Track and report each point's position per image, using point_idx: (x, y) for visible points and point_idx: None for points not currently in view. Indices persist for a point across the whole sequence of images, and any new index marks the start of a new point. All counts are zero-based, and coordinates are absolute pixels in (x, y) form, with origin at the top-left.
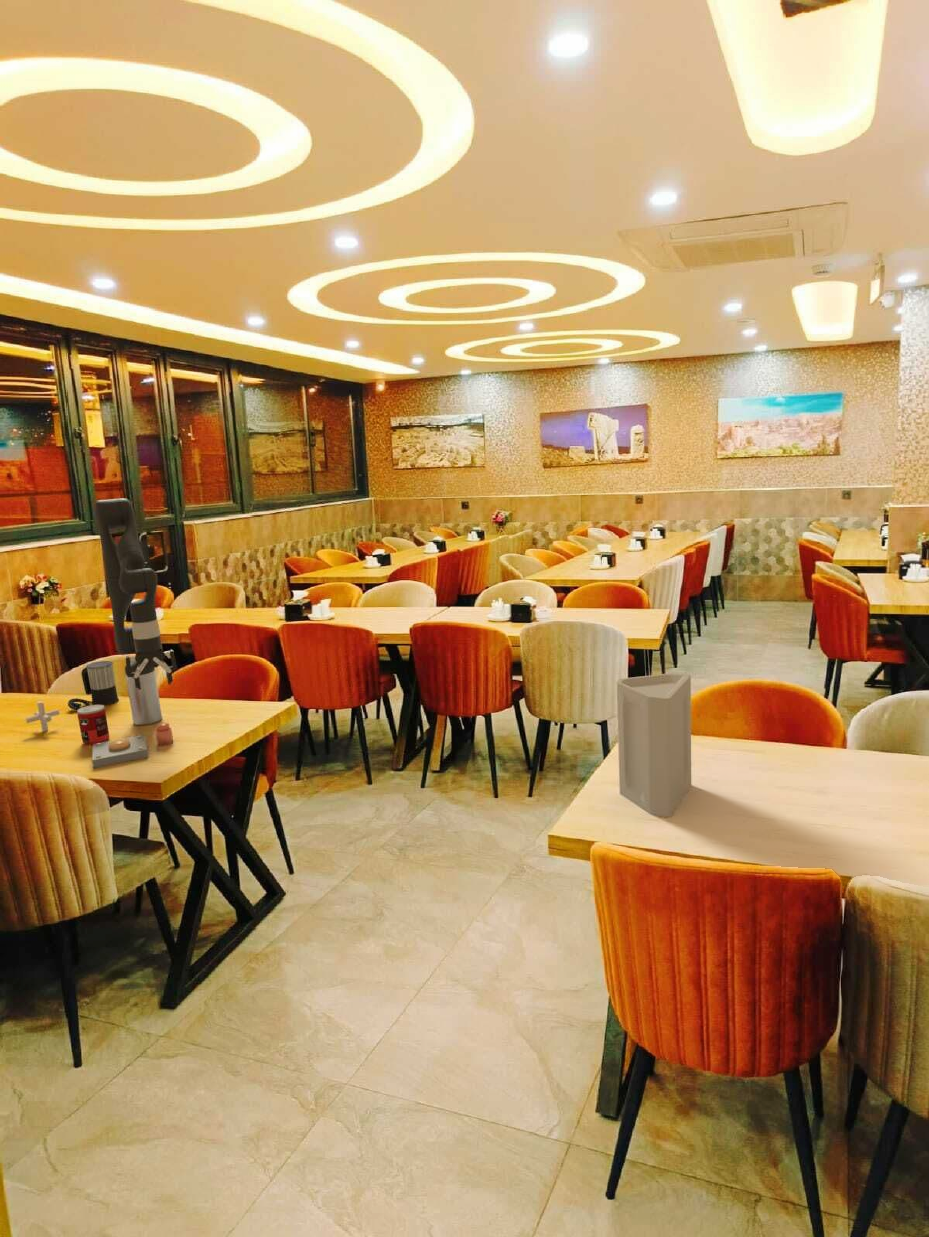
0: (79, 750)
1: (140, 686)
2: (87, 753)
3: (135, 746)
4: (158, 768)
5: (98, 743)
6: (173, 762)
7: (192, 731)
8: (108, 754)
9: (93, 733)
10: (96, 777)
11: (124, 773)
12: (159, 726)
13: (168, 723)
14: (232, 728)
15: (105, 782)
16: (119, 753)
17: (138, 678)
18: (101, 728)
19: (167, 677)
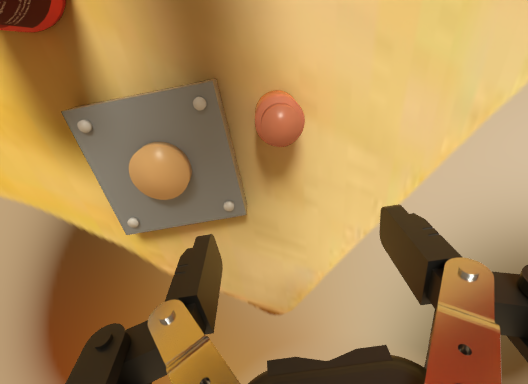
0: (14, 71)
1: (220, 280)
2: None
3: (210, 183)
4: (277, 265)
5: (83, 125)
6: (304, 248)
7: (356, 29)
8: (154, 213)
9: (8, 29)
10: (163, 268)
11: None
12: (272, 142)
13: (300, 121)
14: (476, 59)
15: None
16: (181, 216)
17: (207, 330)
18: (23, 13)
19: (404, 279)
